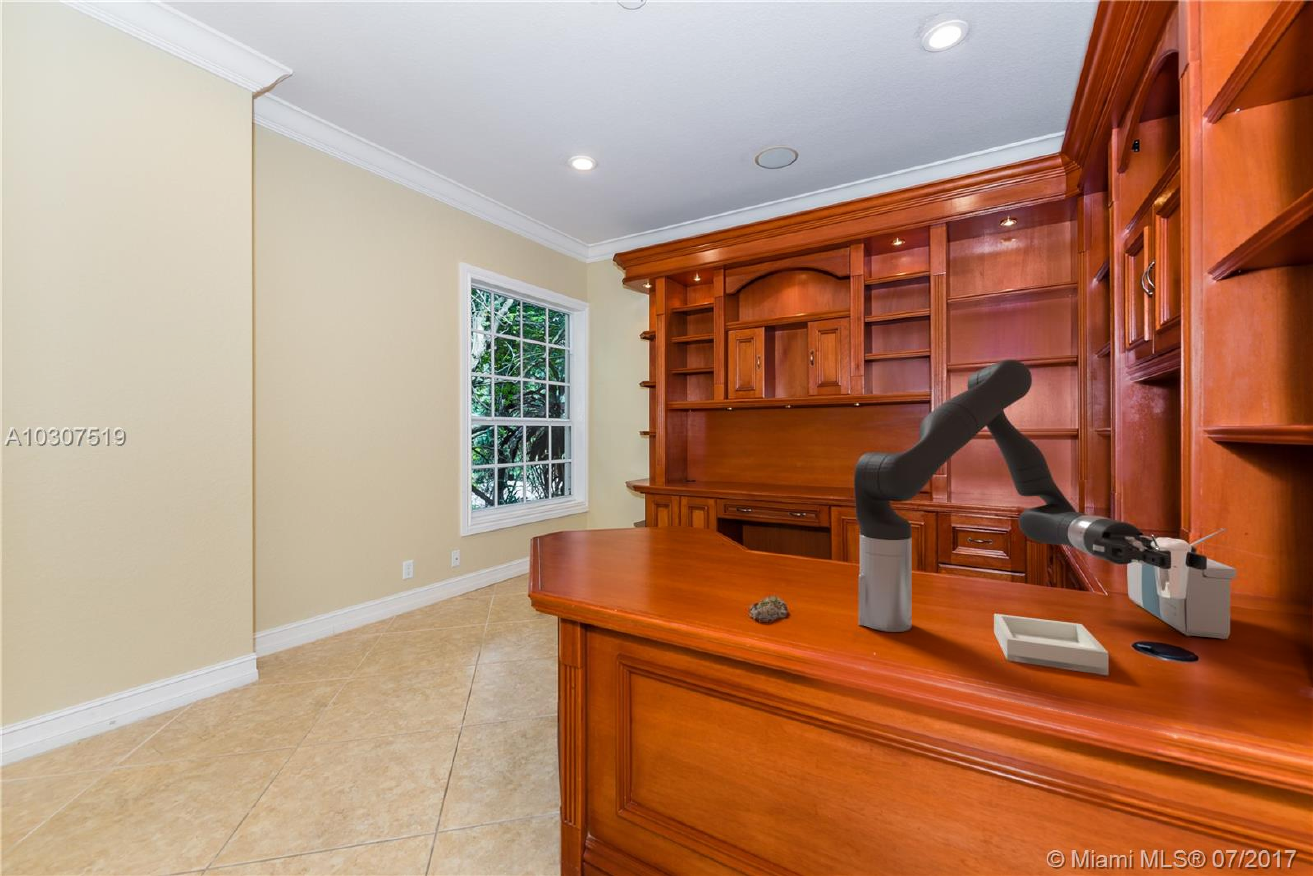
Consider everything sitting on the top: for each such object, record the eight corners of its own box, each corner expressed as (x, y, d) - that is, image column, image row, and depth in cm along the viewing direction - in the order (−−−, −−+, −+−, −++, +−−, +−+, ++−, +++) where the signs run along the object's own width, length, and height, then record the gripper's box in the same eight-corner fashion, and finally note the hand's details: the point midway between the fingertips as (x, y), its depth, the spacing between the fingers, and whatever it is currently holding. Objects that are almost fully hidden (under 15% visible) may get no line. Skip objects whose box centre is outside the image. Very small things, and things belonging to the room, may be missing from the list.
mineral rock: (755, 593, 115) (790, 589, 111) (761, 613, 114) (796, 609, 110) (736, 609, 106) (773, 605, 102) (742, 631, 105) (779, 628, 101)
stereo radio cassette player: (1125, 602, 114) (1125, 510, 114) (1174, 606, 111) (1174, 512, 111) (1179, 637, 95) (1180, 527, 95) (1240, 644, 92) (1241, 530, 92)
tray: (1007, 660, 86) (1007, 639, 86) (994, 632, 98) (994, 613, 98) (1108, 675, 80) (1108, 652, 80) (1081, 644, 92) (1081, 624, 92)
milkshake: (1139, 592, 85) (1137, 531, 85) (1170, 590, 85) (1169, 529, 85) (1167, 602, 80) (1166, 538, 80) (1201, 599, 81) (1199, 535, 80)
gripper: (1062, 517, 98) (1135, 537, 81) (1147, 518, 96) (1239, 539, 79) (1061, 557, 98) (1134, 586, 81) (1146, 559, 96) (1238, 588, 79)
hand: (1186, 562), depth 80 cm, fingers closed on milkshake, 4 cm apart
